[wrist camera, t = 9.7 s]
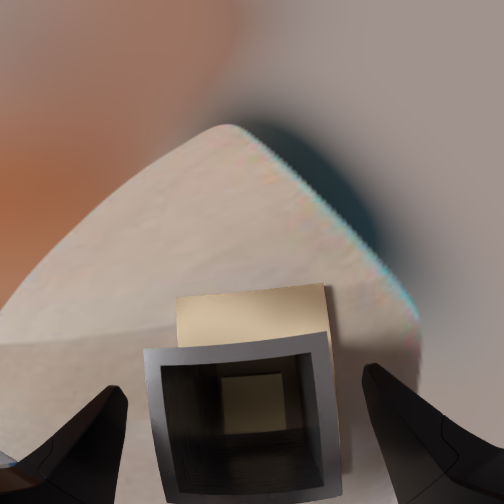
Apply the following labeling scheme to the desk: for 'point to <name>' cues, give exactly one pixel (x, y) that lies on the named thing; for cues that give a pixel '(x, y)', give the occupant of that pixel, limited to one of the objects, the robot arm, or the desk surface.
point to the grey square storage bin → (249, 444)
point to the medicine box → (6, 461)
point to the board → (261, 370)
